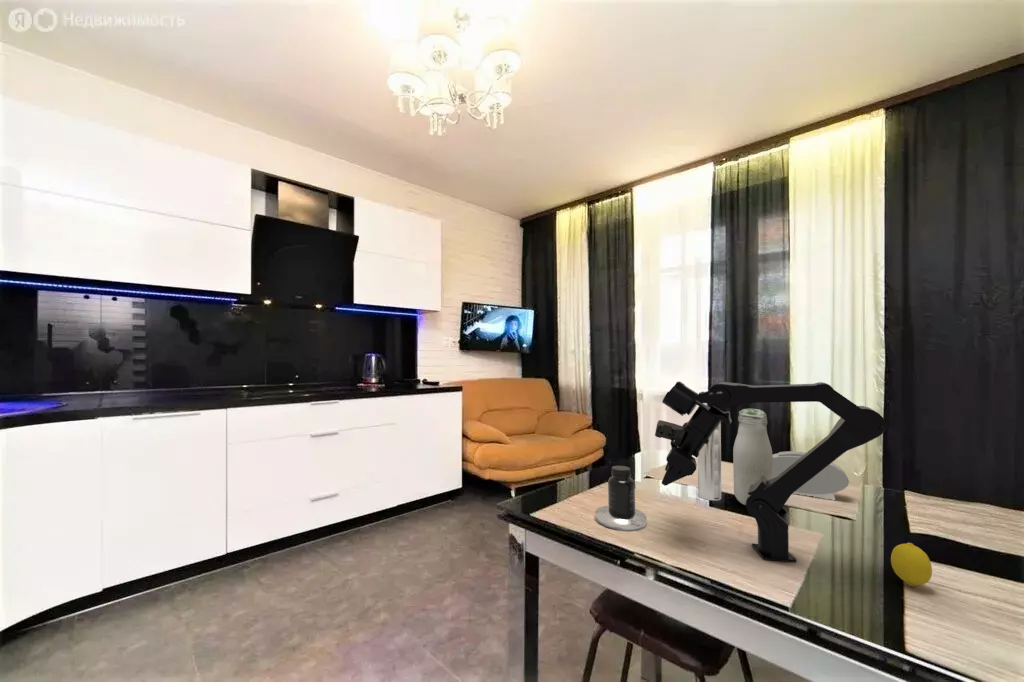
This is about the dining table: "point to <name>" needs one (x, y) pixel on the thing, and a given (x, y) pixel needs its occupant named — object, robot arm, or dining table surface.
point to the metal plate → (620, 520)
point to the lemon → (911, 564)
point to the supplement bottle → (621, 493)
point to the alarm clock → (820, 484)
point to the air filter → (710, 468)
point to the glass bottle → (751, 452)
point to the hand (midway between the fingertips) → (665, 477)
